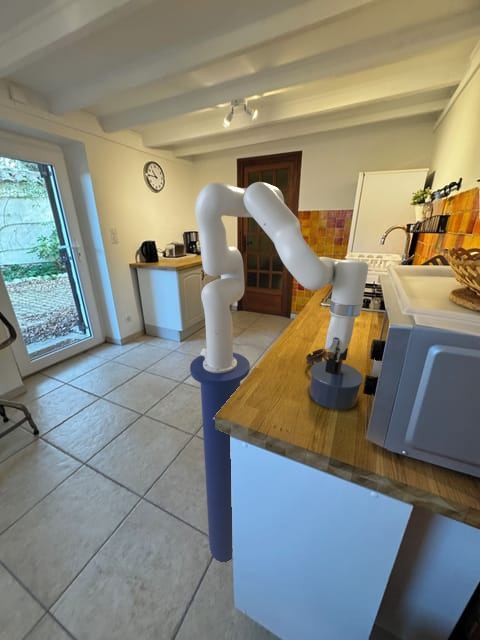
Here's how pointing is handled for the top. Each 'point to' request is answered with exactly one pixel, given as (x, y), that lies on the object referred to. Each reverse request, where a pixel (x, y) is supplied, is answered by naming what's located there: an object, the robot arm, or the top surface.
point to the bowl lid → (337, 376)
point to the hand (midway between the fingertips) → (336, 365)
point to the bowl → (333, 396)
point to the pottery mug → (317, 356)
